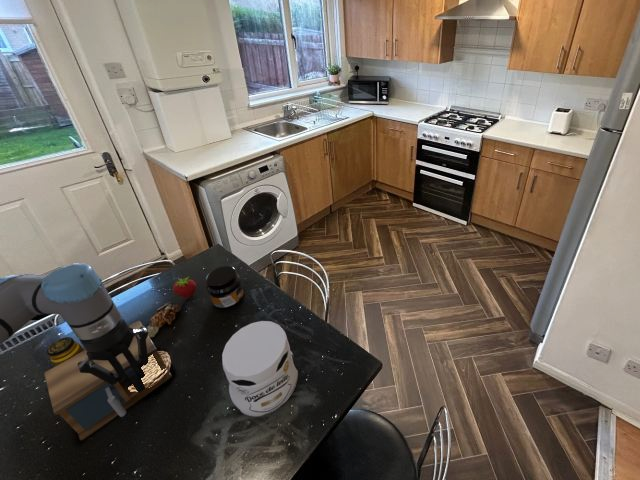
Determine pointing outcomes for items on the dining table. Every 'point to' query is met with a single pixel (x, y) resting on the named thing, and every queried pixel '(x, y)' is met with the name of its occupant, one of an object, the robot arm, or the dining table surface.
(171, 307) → the pastry
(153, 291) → the dining table surface
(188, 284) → the strawberry
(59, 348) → the condiment
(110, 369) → the cabinet
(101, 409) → the glass door
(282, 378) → the doce de leite tub
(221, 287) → the supplement container
